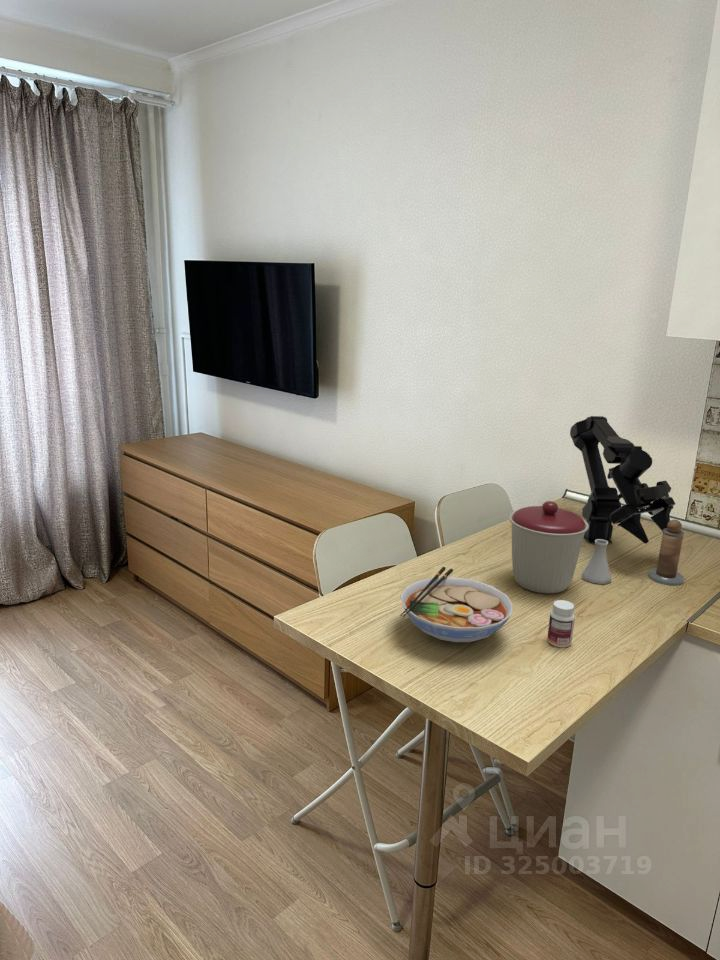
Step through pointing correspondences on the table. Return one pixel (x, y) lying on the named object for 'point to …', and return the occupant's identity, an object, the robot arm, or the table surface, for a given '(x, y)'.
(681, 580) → the slate coaster
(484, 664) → the table surface
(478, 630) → the ramen bowl
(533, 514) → the canister
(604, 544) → the flask
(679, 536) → the pepper mill
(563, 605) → the pill bottle
